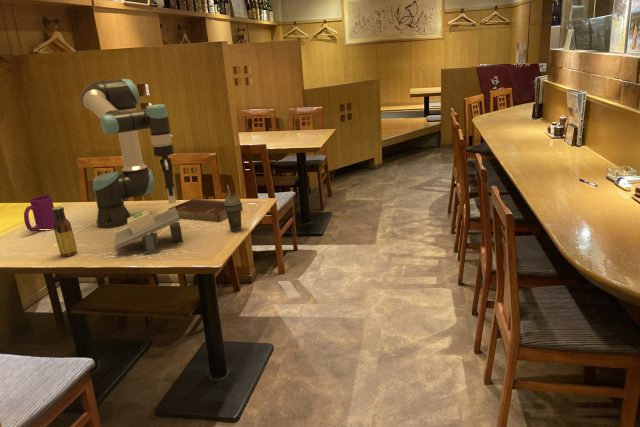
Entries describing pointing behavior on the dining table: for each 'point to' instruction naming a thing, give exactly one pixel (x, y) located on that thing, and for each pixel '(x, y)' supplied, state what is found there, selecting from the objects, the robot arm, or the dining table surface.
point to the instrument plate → (158, 225)
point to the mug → (40, 213)
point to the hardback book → (202, 210)
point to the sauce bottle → (64, 233)
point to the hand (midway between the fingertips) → (172, 202)
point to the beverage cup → (233, 211)
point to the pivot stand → (152, 240)
